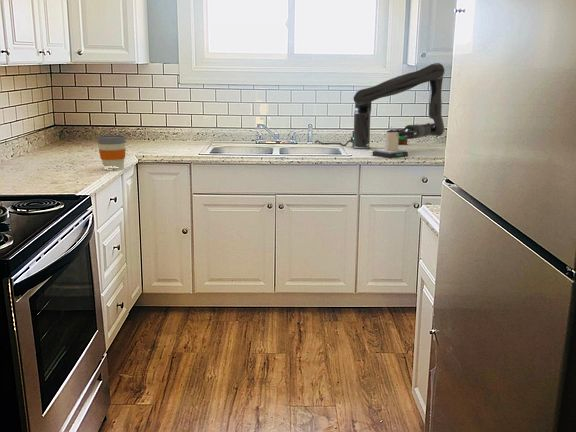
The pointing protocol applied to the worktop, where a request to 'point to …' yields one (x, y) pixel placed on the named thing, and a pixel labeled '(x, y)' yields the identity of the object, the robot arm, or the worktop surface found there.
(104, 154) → the reusable coffee cup
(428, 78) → the robot arm
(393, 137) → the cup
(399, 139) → the food container
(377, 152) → the scale
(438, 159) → the worktop surface
